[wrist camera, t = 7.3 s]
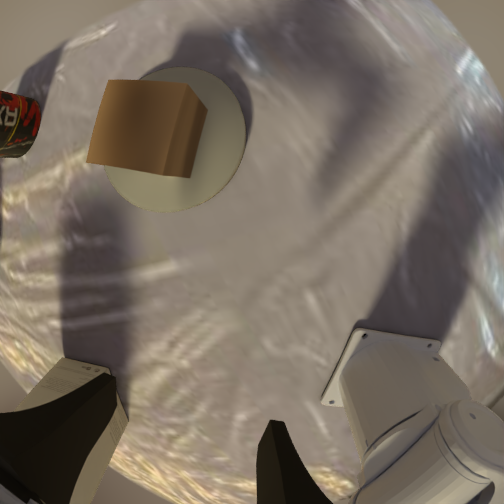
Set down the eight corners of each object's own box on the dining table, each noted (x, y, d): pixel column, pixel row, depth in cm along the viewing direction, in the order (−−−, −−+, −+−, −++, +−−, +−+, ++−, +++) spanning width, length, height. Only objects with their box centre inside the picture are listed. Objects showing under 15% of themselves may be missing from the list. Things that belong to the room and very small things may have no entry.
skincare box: (63, 354, 22) (-26, 445, 7) (113, 366, 22) (26, 487, 7) (86, 411, 24) (25, 501, 9) (133, 425, 24) (80, 533, 9)
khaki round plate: (258, 83, 17) (257, 72, 15) (232, 220, 19) (229, 224, 17) (130, 77, 17) (119, 69, 15) (106, 200, 19) (92, 202, 17)
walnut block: (208, 110, 16) (187, 83, 11) (190, 178, 17) (162, 175, 12) (145, 102, 16) (108, 79, 11) (128, 166, 17) (86, 162, 12)
